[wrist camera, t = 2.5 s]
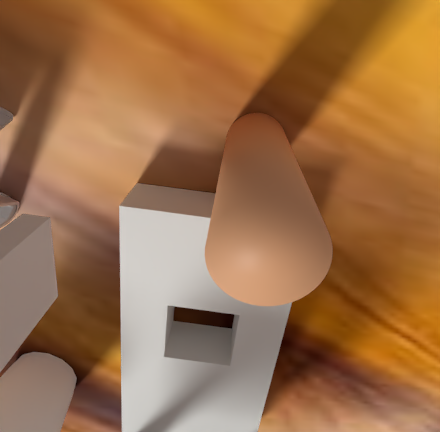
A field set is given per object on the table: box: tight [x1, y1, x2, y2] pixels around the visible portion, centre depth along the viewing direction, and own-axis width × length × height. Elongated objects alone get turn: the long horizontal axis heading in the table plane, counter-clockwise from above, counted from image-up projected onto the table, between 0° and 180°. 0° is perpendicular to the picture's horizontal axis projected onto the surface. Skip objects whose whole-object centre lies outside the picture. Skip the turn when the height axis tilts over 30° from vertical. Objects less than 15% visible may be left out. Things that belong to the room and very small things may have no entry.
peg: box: [205, 113, 333, 306], centre depth 17 cm, size 4×4×14 cm
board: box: [119, 183, 292, 432], centre depth 29 cm, size 26×12×4 cm, turn 173°
